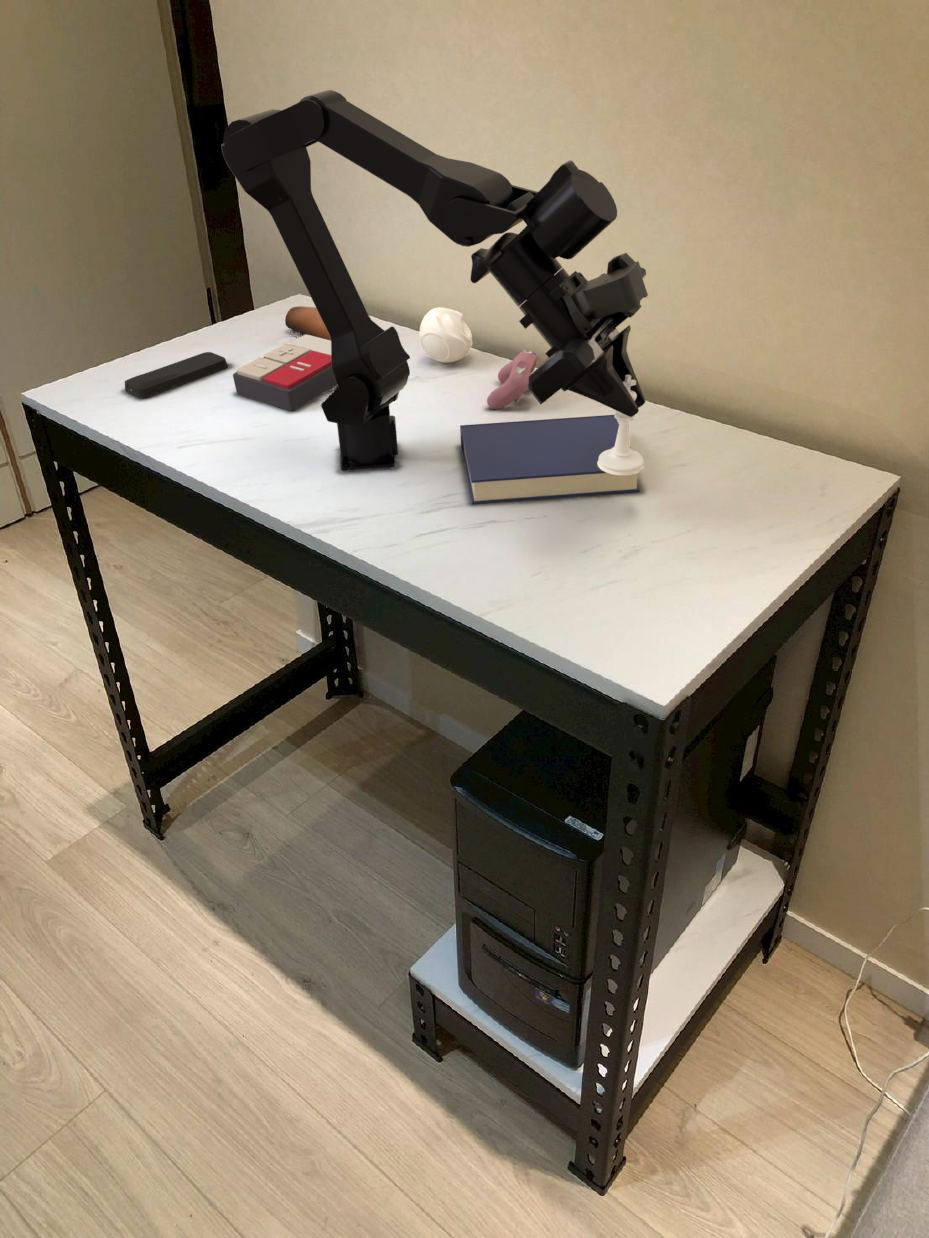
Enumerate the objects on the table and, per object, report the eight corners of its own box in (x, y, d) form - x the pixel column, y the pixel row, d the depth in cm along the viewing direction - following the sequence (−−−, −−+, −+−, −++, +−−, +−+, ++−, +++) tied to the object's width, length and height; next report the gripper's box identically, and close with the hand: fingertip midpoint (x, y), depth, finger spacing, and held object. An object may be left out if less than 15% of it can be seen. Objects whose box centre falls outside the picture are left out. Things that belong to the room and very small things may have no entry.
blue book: (472, 504, 110) (471, 480, 108) (460, 447, 121) (460, 425, 119) (639, 491, 111) (641, 468, 109) (612, 436, 122) (614, 414, 120)
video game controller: (513, 422, 129) (538, 379, 125) (483, 406, 129) (506, 362, 125) (525, 392, 137) (548, 350, 133) (496, 376, 137) (518, 334, 132)
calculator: (229, 369, 134) (305, 329, 143) (236, 398, 136) (309, 357, 145) (287, 386, 128) (362, 344, 137) (293, 416, 131) (365, 372, 140)
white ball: (472, 370, 140) (471, 317, 135) (419, 372, 140) (416, 319, 135) (473, 349, 146) (471, 298, 142) (422, 351, 146) (419, 299, 142)
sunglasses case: (394, 345, 147) (372, 313, 142) (363, 379, 146) (340, 347, 141) (330, 315, 159) (307, 284, 154) (300, 346, 158) (277, 316, 153)
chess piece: (588, 459, 105) (594, 371, 99) (628, 450, 107) (636, 362, 101) (612, 479, 102) (619, 389, 96) (652, 470, 103) (662, 380, 97)
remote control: (211, 362, 147) (122, 390, 138) (209, 350, 146) (119, 378, 137) (230, 370, 144) (141, 399, 135) (229, 358, 143) (138, 387, 134)
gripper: (564, 263, 85) (675, 403, 88) (629, 209, 98) (723, 332, 101) (482, 338, 92) (586, 465, 95) (552, 278, 106) (642, 391, 109)
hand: (638, 409), depth 100 cm, fingers closed on chess piece
